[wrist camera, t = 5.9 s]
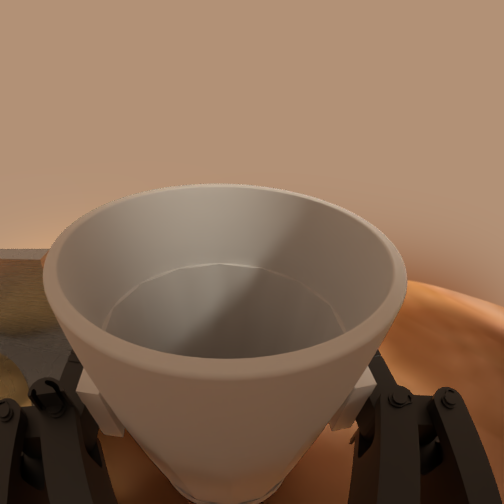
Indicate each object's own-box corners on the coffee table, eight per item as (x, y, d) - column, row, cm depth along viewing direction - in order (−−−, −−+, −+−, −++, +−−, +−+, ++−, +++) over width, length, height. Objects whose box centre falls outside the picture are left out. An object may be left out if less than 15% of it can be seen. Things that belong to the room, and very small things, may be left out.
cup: (123, 493, 9) (-26, 288, 4) (177, 381, 16) (154, 177, 11) (292, 537, 8) (461, 407, 2) (311, 409, 15) (372, 202, 9)
